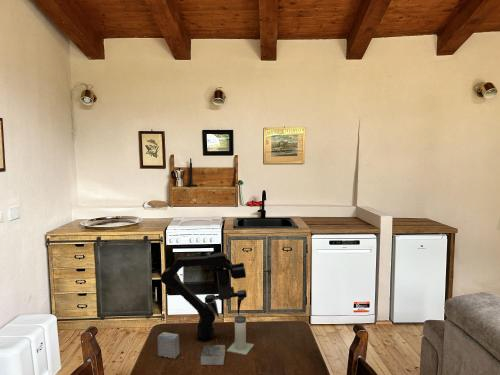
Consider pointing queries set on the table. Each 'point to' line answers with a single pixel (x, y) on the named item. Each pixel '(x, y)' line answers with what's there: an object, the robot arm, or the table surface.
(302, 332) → the table surface
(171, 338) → the medicine box
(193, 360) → the table surface
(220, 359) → the housing
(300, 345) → the table surface
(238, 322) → the plug
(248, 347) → the mat
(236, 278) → the robot arm
